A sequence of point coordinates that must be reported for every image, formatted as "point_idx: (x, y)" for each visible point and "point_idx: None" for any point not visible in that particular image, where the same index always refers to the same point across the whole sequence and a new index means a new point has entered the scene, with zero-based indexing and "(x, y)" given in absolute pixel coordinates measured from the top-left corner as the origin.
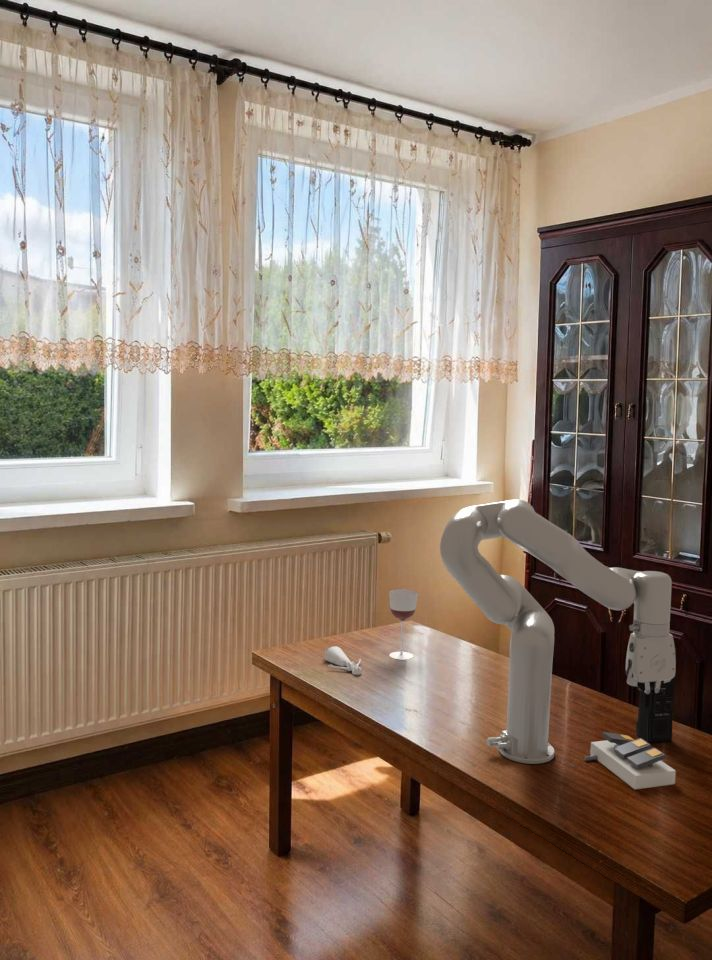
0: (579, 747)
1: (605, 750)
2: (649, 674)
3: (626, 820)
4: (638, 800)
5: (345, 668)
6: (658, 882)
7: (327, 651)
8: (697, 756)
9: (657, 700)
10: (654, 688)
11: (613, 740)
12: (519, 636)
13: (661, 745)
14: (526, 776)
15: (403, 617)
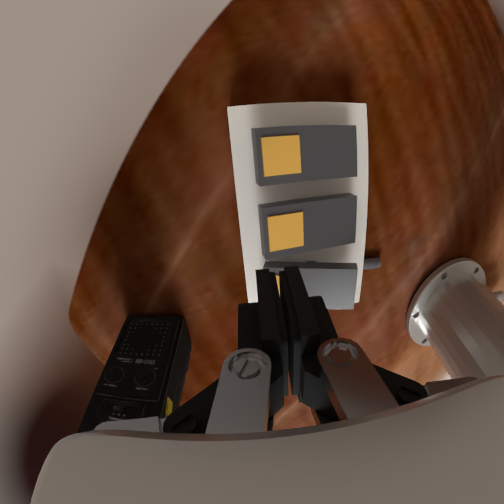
0: (348, 316)
1: (355, 257)
2: (469, 472)
3: (426, 17)
4: (370, 61)
5: None
6: None
7: None
8: (100, 244)
9: (140, 393)
10: (270, 380)
11: (348, 266)
12: None
13: (157, 303)
14: (494, 219)
15: None
